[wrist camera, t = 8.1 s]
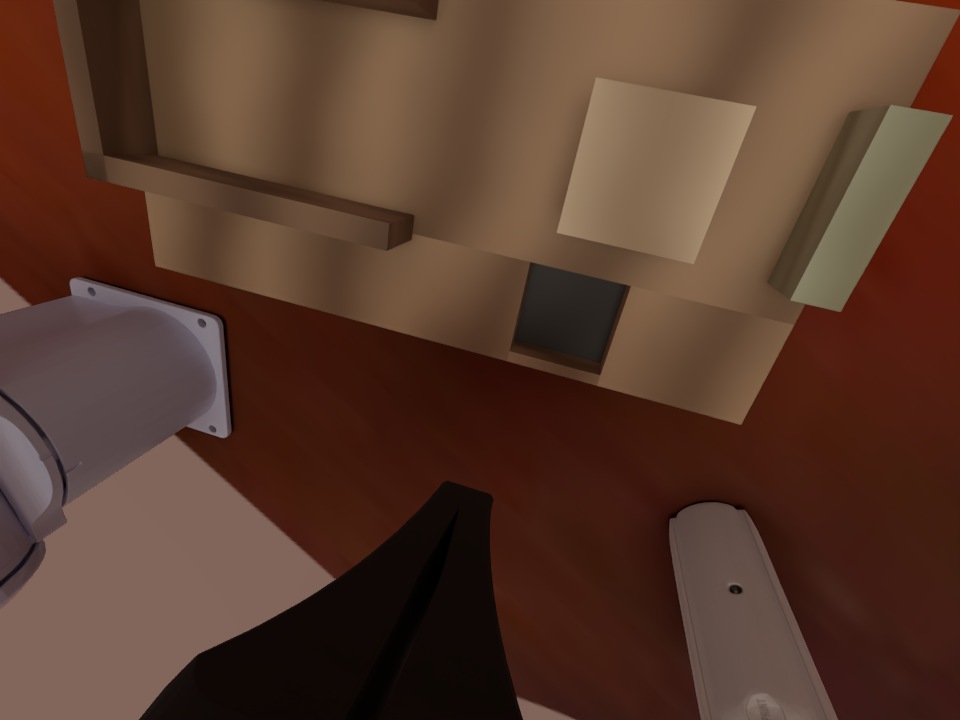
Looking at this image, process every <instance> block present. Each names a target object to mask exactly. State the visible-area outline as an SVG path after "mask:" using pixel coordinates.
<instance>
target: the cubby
mask: <svg viewBox="0 0 960 720" xmlns="http://www.w3.org/2000/svg"><path fill="white" fill-rule="evenodd" d="M319 1H325V2H331V3H337V4H343V5H349V6H354V7H360V8H366V9H372V10H378V11H383V12H389V13H395V14H401V15H407V16H412V17H418V18H424V19H430V20H437V11H438V2H439V0H319ZM53 4H54V9H55V15H56V20H57V25H58V30H59V35H60V40H61V45H62V51H63V56H64V61H65V66H66V71H67V76H68V81H69V87H70V92H71V97H72V102H73V107H74V112H75V118H76V123H77V128H78V133H79V138H80V143H81V148H82V154H83V159H84V164H85V169H86V174H87V177H89V178H93V179H97V180H101V181H105V182H109V183H113V184H117V185H121V186H125V187H129V188H133V189H137V190H141V191H145V192H150V193H154V194H158V195H162V196H166V197H170V198H174V199H178V200H182V201H186V202H190V203H194V204H198V205H202V206H206V207H210V208H214V209H218V210H222V211H227V212H231V213H235V214H239V215H243V216H247V217H251V218H255V219H259V220H263V221H267V222H271V223H275V224H279V225H283V226H287V227H291V228H295V229H299V230H304V231H308V232H312V233H316V234H320V235H324V236H328V237H332V238H336V239H340V240H344V241H348V242H352V243H356V244H360V245H364V246H368V247H372V248H376V249H381V250H385V251H388V250H390V249H393V248H395V247H397V246H399V245H401V244H404V243H406V242H408V241H410V240H412V234H413V225H414V216H415V215H412V214H408V213H403V212H399V211H395V210H390V209H386V208H382V207H378V206H373V205H369V204H365V203H360V202H356V201H352V200H348V199H343V198H339V197H335V196H330V195H326V194H322V193H318V192H313V191H309V190H305V189H300V188H296V187H292V186H288V185H283V184H279V183H275V182H271V181H266V180H262V179H258V178H253V177H249V176H245V175H241V174H236V173H232V172H228V171H223V170H219V169H215V168H211V167H206V166H202V165H198V164H193V163H189V162H185V161H181V160H176V159H172V158H168V157H163V156H159V155H158V148H157V140H156V132H155V124H154V116H153V108H152V100H151V92H150V84H149V76H148V68H147V60H146V52H145V44H144V36H143V28H142V20H141V12H140V4H139V0H53Z"/></svg>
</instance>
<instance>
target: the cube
mask: <svg viewBox="0 0 960 720" xmlns="http://www.w3.org/2000/svg"><path fill="white" fill-rule="evenodd" d="M756 107H757V106H751V105H746V104H740V103H735V102H729V101H724V100H718V99H713V98H707V97H702V96H696V95H691V94H685V93H680V92H674V91H668V90H663V89H657V88H652V87H646V86H641V85H635V84H630V83H624V82H619V81H613V80H608V79H602V78H597V77H596V80H595V84H594V88H593V92H592V96H591V99H590V103H589V107H588V111H587V115H586V119H585V123H584V127H583V131H582V135H581V139H580V143H579V147H578V151H577V155H576V159H575V163H574V167H573V170H572V174H571V178H570V182H569V186H568V190H567V194H566V198H565V202H564V206H563V210H562V214H561V218H560V222H559V226H558V230H557V233H560V234H564V235H569V236H573V237H577V238H582V239H586V240H591V241H595V242H599V243H604V244H608V245H612V246H617V247H621V248H625V249H630V250H634V251H638V252H643V253H647V254H652V255H656V256H660V257H665V258H669V259H673V260H678V261H682V262H686V263H691V264H694V262H695V260H696V257H697V255H698V252H699V250H700V247H701V245H702V242H703V240H704V237H705V235H706V232H707V230H708V227H709V225H710V222H711V220H712V217H713V215H714V212H715V210H716V207H717V205H718V202H719V200H720V197H721V195H722V192H723V190H724V187H725V185H726V182H727V180H728V177H729V175H730V172H731V170H732V167H733V165H734V162H735V160H736V157H737V155H738V152H739V150H740V147H741V145H742V142H743V139H744V137H745V134H746V132H747V129H748V127H749V124H750V122H751V119H752V117H753V114H754V112H755V109H756Z"/></svg>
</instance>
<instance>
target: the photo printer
mask: <svg viewBox="0 0 960 720" xmlns="http://www.w3.org/2000/svg"><path fill="white" fill-rule="evenodd" d="M669 538H670V548H671V554H672V561H673V567H674V573H675V579H676V585H677V590H678V596H679V602H680V607H681V613H682V618H683V624H684V629H685V634H686V640H687V645H688V651H689V656H690V662H691V667H692V673H693V678H694V684H695V689H696V695H697V700H698V705H699V711H700V716H701V720H838V719H837V716H836V714H835V712H834V709H833V707H832V705H831V702H830V700H829V698H828V695H827V693H826V691H825V688H824V686H823V684H822V681H821V679H820V676H819V674H818V672H817V669H816V667H815V665H814V662H813V660H812V658H811V655H810V653H809V650H808V648H807V646H806V643H805V641H804V639H803V636H802V634H801V631H800V629H799V627H798V624H797V622H796V620H795V617H794V615H793V613H792V610H791V608H790V605H789V603H788V601H787V598H786V596H785V594H784V591H783V589H782V587H781V584H780V582H779V579H778V577H777V575H776V572H775V570H774V568H773V565H772V563H771V560H770V558H769V556H768V553H767V551H766V548H765V546H764V544H763V541H762V539H761V537H760V535H759V533H758V531H757V529H756V527H755V525H754V523H753V521H752V520H751V518H750V517H749V515H748V514H747V512H746V511H745V510H737V509H735V508H734V507H733V506H731V505H728V504H724V503H717V502H705V503H699V504H695V505H692V506H689V507H687V508H685V509H683V510H681V511H680V512H679V513H678V514H677V516H676V518H671V519H670V523H669Z"/></svg>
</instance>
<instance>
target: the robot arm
mask: <svg viewBox="0 0 960 720" xmlns="http://www.w3.org/2000/svg"><path fill="white" fill-rule="evenodd" d="M70 288H71V293H72V296H68V297H64V298H60V299H56V300H53V301H49V302H45V303H41V304H38V305H34V306H30V307H26V308H23V309H19V310H15V311H11V312H7V313H4V314H0V609H1V608H2V607H3V606H4V605H6V604H7V603H8V602H9V601H10V600H11V599H12V598H13V597H14V596H15V595H16V594H17V593H18V592H19V591H20V590H21V589H22V588H23V587H24V585H25V584H26V583H27V582H28V580H29V579H30V578H31V577H32V576H33V574H34V573H35V572H36V570H37V569H38V568H39V566H40V564H41V562H42V561H43V559H44V556H45V552H46V548H45V542H44V541H43V539H44V538H45V537H47V536H48V535H50V534H51V533H52V532H54V531H55V530H57V529H58V528H60V527H61V526H63V525H64V524H65V523H67V519H66V517H65V515H64V513H63V510H62V507H64V506H65V505H67V504H68V503H70V502H71V501H73V500H74V499H76V498H77V497H79V496H81V495H82V494H84V493H85V492H87V491H88V490H90V489H91V488H93V487H94V486H96V485H97V484H99V483H100V482H102V481H103V480H105V479H106V478H108V477H109V476H111V475H112V474H114V473H115V472H117V471H119V470H120V469H122V468H123V467H125V466H126V465H128V464H129V463H131V462H132V461H134V460H135V459H137V458H138V457H140V456H141V455H143V454H144V453H146V452H147V451H149V450H150V449H152V448H154V447H155V446H157V445H158V444H160V443H161V442H163V441H164V440H166V439H167V438H169V437H170V436H172V435H173V434H175V433H176V432H178V431H179V430H181V429H182V428H184V427H186V426H187V427H190V428H193V429H196V430H199V431H202V432H205V433H208V434H211V435H215V436H218V437H221V438H226V437H227V436H229V435H230V434H231V419H230V406H229V394H228V381H227V369H226V356H225V344H224V331H223V323H222V321H221V319H220V318H219V317H217V316H215V315H213V314H209V313H206V312H202V311H199V310H195V309H192V308H188V307H184V306H181V305H177V304H174V303H170V302H167V301H163V300H160V299H156V298H153V297H149V296H145V295H142V294H138V293H135V292H131V291H128V290H124V289H121V288H117V287H114V286H110V285H106V284H103V283H99V282H96V281H92V280H89V279H85V278H82V277H77V278H73V279H71V280H70ZM204 321H205V322H206V324H205V323H204ZM492 503H493V497H492V496H491V494H488V493H485V492H481V491H478V490H475V489H472V488H469V487H465V486H462V485H459V484H456V483H453V482H449V481H446V482H443V483H442V484H441V486H440V487H439V488H438V489H437V491H436V492H435V493H434V494H433V495H432V497H431V498H430V499H429V500H428V501H427V502H426V503H425V504H424V505H423V506H422V507H421V508H420V509H419V511H418V512H417V513H416V514H415V515H414V516H412V517H411V518H410V519H409V520H408V521H407V522H406V523H405V524H404V525H403V526H402V527H401V528H400V529H399V530H398V531H397V532H396V533H395V534H393V535H392V536H391V537H390V538H389V539H388V540H386V541H385V542H384V543H383V544H382V545H381V546H379V547H378V548H377V549H376V550H375V551H373V552H372V553H371V554H370V555H369V556H367V557H366V558H365V559H363V560H362V561H361V562H360V563H358V564H357V565H356V566H354V567H353V568H351V569H350V570H349V571H347V572H346V573H345V574H343V575H342V576H340V577H339V578H337V579H336V580H334V581H333V582H331V583H330V584H328V585H327V586H325V587H324V588H322V589H321V590H319V591H318V592H316V593H315V594H313V595H312V596H310V597H308V598H307V599H305V600H303V601H302V602H300V603H298V604H297V605H295V606H293V607H291V608H290V609H288V610H286V611H284V612H282V613H280V614H279V615H277V616H275V617H273V618H271V619H270V620H268V621H266V622H264V623H262V624H260V625H259V626H257V627H255V628H253V629H251V630H249V631H247V632H244V633H243V634H241V635H238V636H236V637H234V638H232V639H230V640H228V641H225V642H223V643H221V644H219V645H217V646H215V647H213V648H211V649H208V650H206V651H204V652H202V653H200V654H198V655H197V656H196V657H195V658H194V659H193V660H192V661H191V662H190V663H189V664H188V665H187V666H186V667H185V668H184V669H183V670H182V671H181V672H180V673H179V674H178V675H177V676H176V677H175V678H174V679H173V680H172V681H171V682H170V683H169V684H168V685H167V686H166V687H165V688H164V690H163V691H162V692H161V693H160V695H159V696H158V697H157V698H156V699H155V701H154V702H153V703H152V704H151V705H150V707H149V708H148V709H147V710H146V712H145V713H144V714H143V715H142V717H141V718H140V719H139V720H523V718H522V715H521V712H520V709H519V705H518V702H517V698H516V694H515V690H514V687H513V683H512V679H511V676H510V672H509V668H508V665H507V661H506V656H505V652H504V647H503V643H502V638H501V633H500V628H499V623H498V617H497V611H496V605H495V598H494V590H493V582H492V572H491V558H490V515H491V508H492Z"/></svg>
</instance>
